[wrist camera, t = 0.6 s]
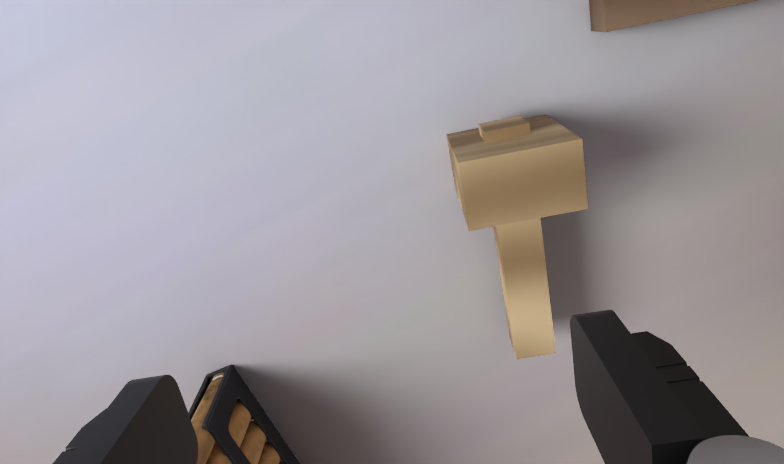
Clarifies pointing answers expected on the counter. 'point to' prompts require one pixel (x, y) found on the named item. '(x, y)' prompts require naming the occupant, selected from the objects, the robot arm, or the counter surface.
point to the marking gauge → (520, 209)
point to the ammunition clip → (234, 424)
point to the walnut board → (646, 11)
